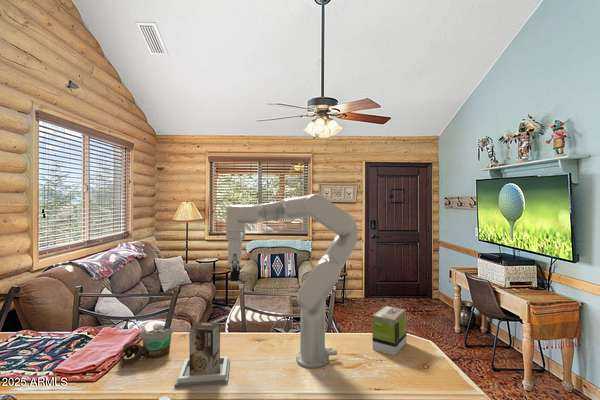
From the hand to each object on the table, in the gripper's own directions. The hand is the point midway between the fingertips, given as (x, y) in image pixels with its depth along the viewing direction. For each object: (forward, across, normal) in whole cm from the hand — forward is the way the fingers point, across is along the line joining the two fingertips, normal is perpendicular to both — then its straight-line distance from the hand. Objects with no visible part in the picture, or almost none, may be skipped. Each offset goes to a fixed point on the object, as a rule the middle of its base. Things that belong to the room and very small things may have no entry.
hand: (235, 278), depth 130 cm
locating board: (+30, +14, -10) cm, 35 cm away
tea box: (+31, +3, +65) cm, 72 cm away
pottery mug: (+31, +2, -38) cm, 49 cm away
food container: (+31, -2, -30) cm, 43 cm away
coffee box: (+30, +14, -10) cm, 34 cm away
